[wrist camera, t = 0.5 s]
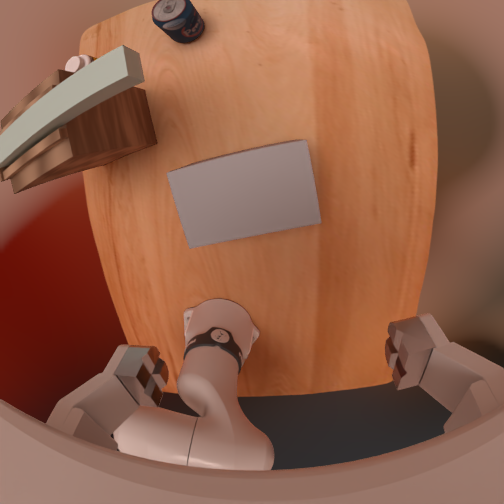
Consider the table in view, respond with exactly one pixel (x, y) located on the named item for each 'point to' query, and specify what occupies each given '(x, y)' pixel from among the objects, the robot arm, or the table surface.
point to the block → (246, 193)
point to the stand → (80, 136)
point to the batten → (71, 100)
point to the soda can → (178, 19)
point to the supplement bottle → (78, 62)
